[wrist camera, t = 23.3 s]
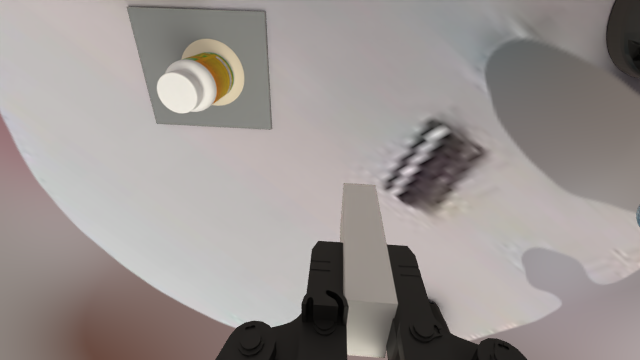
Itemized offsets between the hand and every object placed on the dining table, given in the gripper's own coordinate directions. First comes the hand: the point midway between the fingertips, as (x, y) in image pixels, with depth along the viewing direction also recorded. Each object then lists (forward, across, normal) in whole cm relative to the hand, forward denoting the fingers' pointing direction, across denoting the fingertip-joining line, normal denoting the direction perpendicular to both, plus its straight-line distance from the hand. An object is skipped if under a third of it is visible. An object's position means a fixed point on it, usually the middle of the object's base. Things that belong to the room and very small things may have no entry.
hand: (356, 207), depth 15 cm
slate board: (+26, -18, +1) cm, 32 cm away
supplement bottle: (+26, -17, +1) cm, 31 cm away
